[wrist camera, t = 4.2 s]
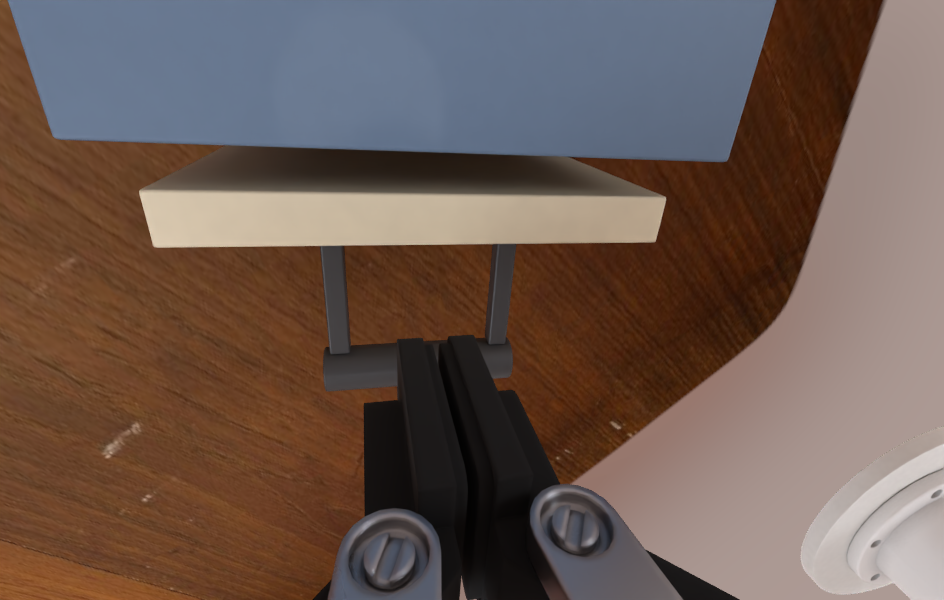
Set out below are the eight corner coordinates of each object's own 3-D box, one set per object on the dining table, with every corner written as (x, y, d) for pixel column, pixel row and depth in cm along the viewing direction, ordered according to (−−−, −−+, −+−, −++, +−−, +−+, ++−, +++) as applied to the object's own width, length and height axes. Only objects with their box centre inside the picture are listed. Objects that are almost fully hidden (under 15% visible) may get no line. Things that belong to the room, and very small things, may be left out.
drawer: (538, 312, 20) (612, 414, 14) (261, 325, 18) (207, 455, 12) (629, -318, 12) (904, -724, 6) (131, -461, 9) (-296, -1436, 3)
